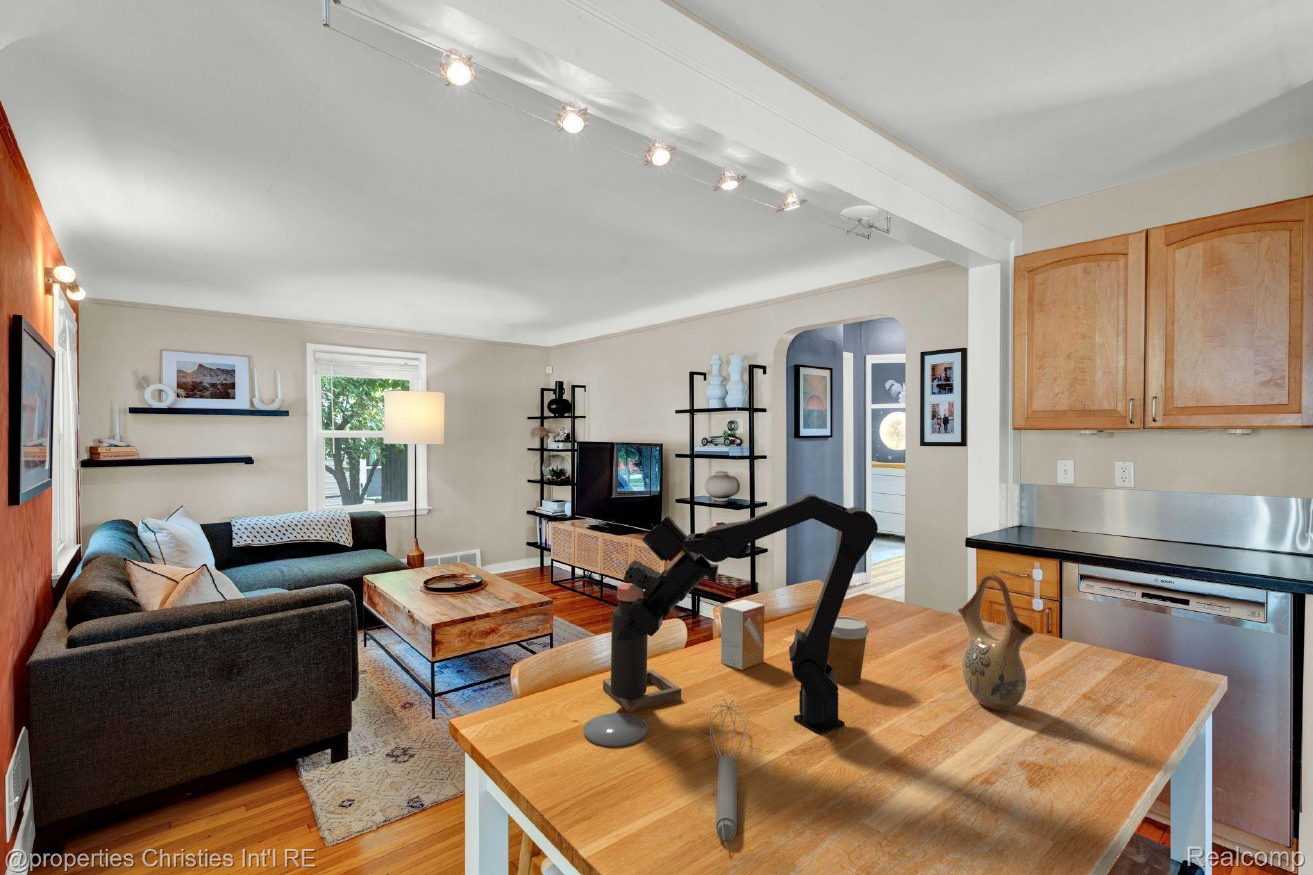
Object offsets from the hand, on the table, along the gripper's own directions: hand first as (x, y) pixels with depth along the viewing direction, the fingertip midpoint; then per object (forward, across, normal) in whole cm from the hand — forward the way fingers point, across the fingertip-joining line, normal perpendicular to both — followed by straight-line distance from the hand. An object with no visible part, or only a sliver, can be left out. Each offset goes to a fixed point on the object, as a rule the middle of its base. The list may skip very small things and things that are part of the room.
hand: (622, 635), depth 118 cm
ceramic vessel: (-39, -14, +59) cm, 72 cm away
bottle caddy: (+8, -6, +11) cm, 15 cm away
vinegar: (+7, 0, +8) cm, 11 cm away
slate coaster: (+9, +10, +10) cm, 17 cm away
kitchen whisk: (-5, +20, +25) cm, 33 cm away
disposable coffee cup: (-20, -22, +40) cm, 50 cm away
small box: (-5, -27, +25) cm, 37 cm away
